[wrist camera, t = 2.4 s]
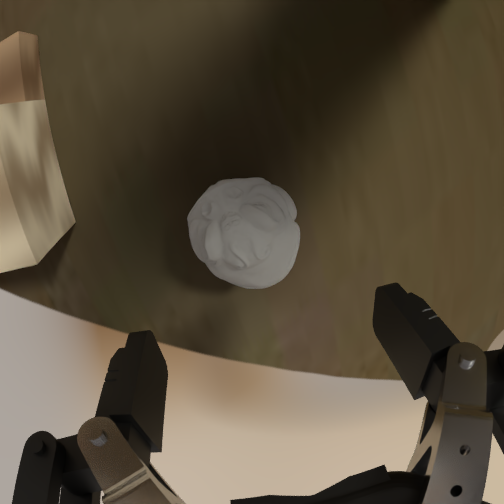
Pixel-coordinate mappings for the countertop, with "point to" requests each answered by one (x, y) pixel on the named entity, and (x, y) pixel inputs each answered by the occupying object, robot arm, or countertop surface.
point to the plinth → (27, 161)
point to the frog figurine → (245, 232)
